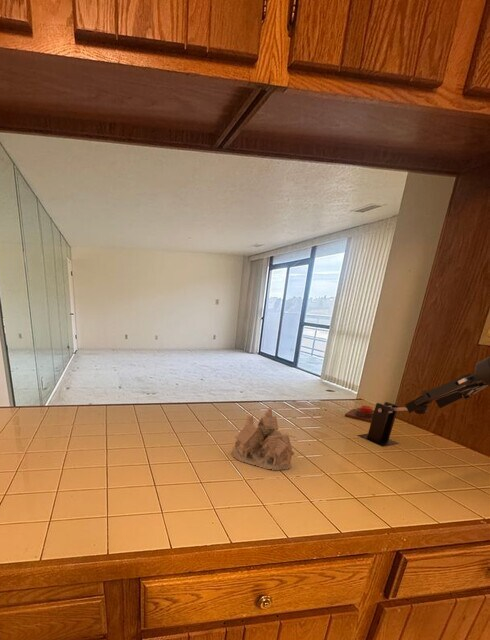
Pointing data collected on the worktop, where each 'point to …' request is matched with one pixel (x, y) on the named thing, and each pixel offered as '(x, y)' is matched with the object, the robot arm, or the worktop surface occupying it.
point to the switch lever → (418, 411)
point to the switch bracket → (381, 425)
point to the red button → (366, 409)
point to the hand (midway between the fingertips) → (423, 406)
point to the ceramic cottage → (263, 444)
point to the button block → (360, 415)
